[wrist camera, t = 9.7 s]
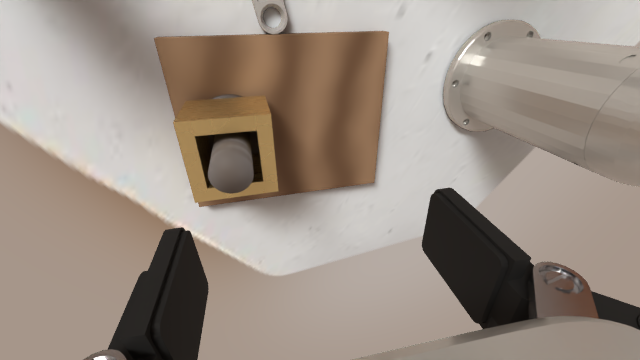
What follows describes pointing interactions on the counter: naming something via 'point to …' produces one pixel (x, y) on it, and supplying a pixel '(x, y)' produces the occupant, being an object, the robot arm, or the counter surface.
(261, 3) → the adjustable wrench
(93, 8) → the counter surface
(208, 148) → the brass collar
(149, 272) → the robot arm
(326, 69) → the shaft board
